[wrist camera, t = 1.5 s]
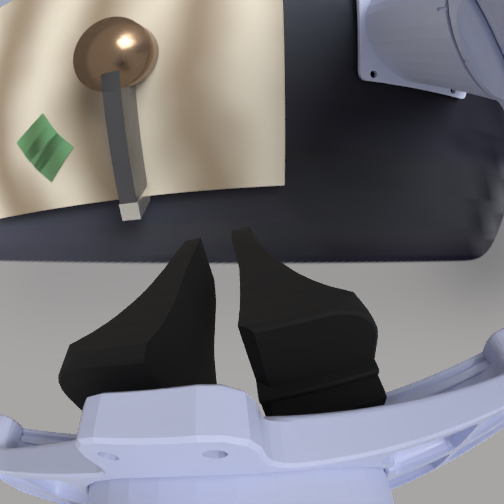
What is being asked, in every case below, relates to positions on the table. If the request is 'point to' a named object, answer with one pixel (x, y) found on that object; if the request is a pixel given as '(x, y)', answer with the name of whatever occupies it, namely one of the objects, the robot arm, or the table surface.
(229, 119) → the board
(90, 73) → the bronze ball with handle
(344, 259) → the table surface
